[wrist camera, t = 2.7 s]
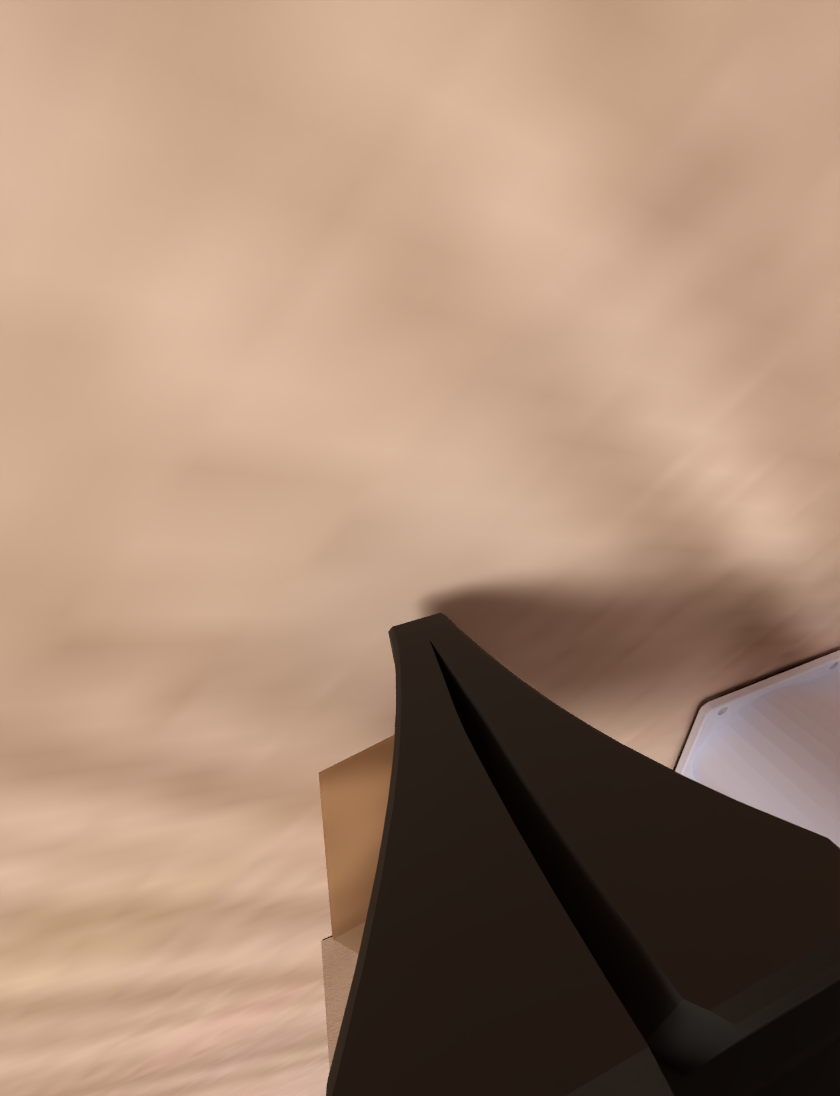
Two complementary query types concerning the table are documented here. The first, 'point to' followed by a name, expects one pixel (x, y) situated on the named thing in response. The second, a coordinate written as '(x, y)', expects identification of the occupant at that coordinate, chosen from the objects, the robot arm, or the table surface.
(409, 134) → the table surface
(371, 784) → the wooden block
